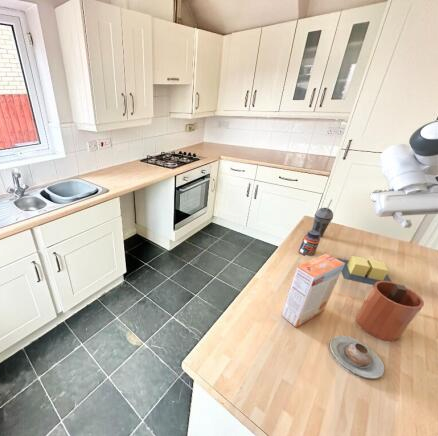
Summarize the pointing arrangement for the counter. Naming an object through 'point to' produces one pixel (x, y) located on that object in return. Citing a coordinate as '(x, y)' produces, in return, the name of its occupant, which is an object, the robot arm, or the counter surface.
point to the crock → (388, 312)
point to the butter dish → (357, 278)
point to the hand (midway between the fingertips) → (429, 225)
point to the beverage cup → (322, 219)
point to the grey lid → (357, 357)
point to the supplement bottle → (310, 243)
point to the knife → (397, 293)
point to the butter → (367, 268)
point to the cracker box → (311, 289)
